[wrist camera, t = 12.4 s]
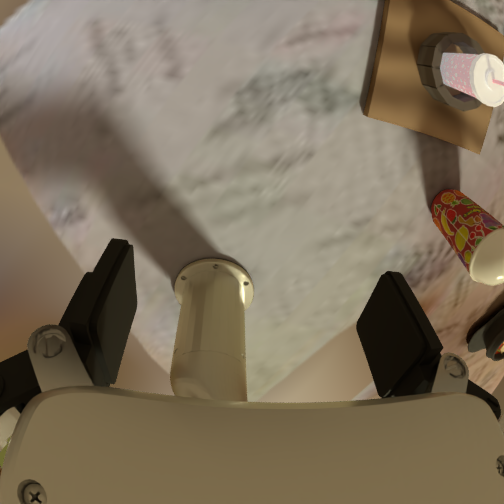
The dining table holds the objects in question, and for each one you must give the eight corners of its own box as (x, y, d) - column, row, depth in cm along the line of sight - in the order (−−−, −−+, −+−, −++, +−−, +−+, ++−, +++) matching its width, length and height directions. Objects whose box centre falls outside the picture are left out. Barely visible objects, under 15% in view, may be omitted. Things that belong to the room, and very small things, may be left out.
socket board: (473, 150, 36) (493, 163, 32) (363, 114, 34) (379, 123, 30) (499, 36, 25) (522, 40, 20) (388, -25, 22) (407, -32, 18)
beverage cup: (467, 55, 27) (543, 74, 15) (461, 96, 30) (534, 127, 19) (431, 41, 26) (509, 51, 15) (426, 84, 30) (500, 110, 18)
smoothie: (470, 184, 40) (550, 260, 23) (454, 228, 44) (520, 312, 28) (432, 177, 39) (517, 260, 23) (417, 225, 44) (483, 318, 28)
